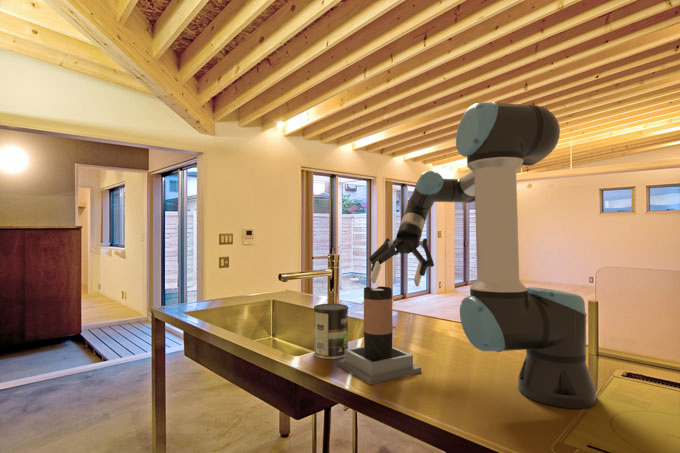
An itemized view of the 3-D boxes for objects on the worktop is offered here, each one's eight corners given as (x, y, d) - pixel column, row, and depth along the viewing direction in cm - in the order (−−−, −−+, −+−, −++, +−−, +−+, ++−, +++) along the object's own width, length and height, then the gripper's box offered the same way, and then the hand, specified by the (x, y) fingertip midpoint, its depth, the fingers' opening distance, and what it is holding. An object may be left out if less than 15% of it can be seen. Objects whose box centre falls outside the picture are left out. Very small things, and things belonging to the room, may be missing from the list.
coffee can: (350, 349, 118) (350, 303, 118) (344, 360, 107) (344, 310, 108) (318, 347, 120) (318, 302, 120) (309, 358, 109) (309, 309, 110)
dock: (421, 372, 98) (421, 355, 98) (370, 384, 90) (370, 366, 90) (384, 354, 112) (384, 340, 112) (337, 364, 104) (337, 349, 104)
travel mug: (384, 370, 96) (384, 291, 96) (358, 365, 100) (358, 289, 100) (397, 361, 102) (396, 287, 103) (372, 356, 107) (371, 285, 107)
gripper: (451, 238, 120) (438, 292, 107) (379, 238, 133) (359, 287, 119) (446, 221, 115) (433, 275, 102) (372, 222, 128) (351, 271, 115)
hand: (393, 282), depth 111 cm, fingers open, 13 cm apart
